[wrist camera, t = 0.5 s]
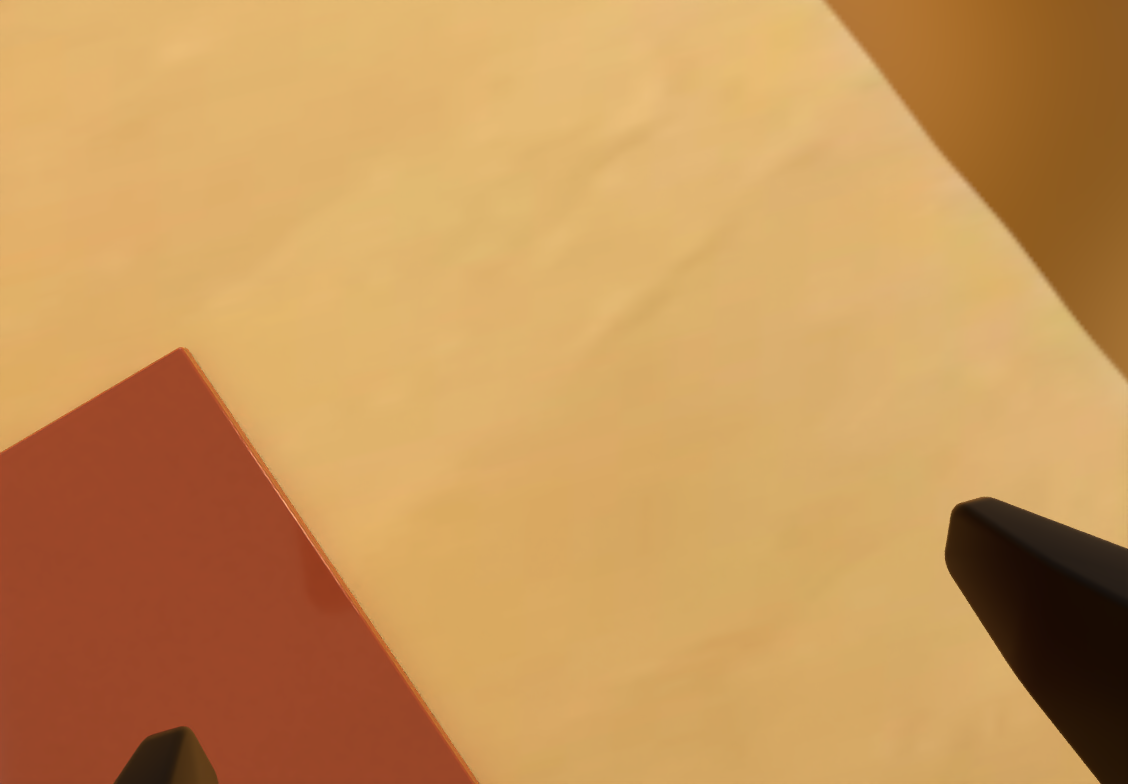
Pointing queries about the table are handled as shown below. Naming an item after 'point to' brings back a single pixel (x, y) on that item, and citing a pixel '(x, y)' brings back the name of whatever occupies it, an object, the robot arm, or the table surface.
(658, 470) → the table surface
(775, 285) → the table surface
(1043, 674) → the robot arm
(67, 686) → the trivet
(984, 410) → the table surface
